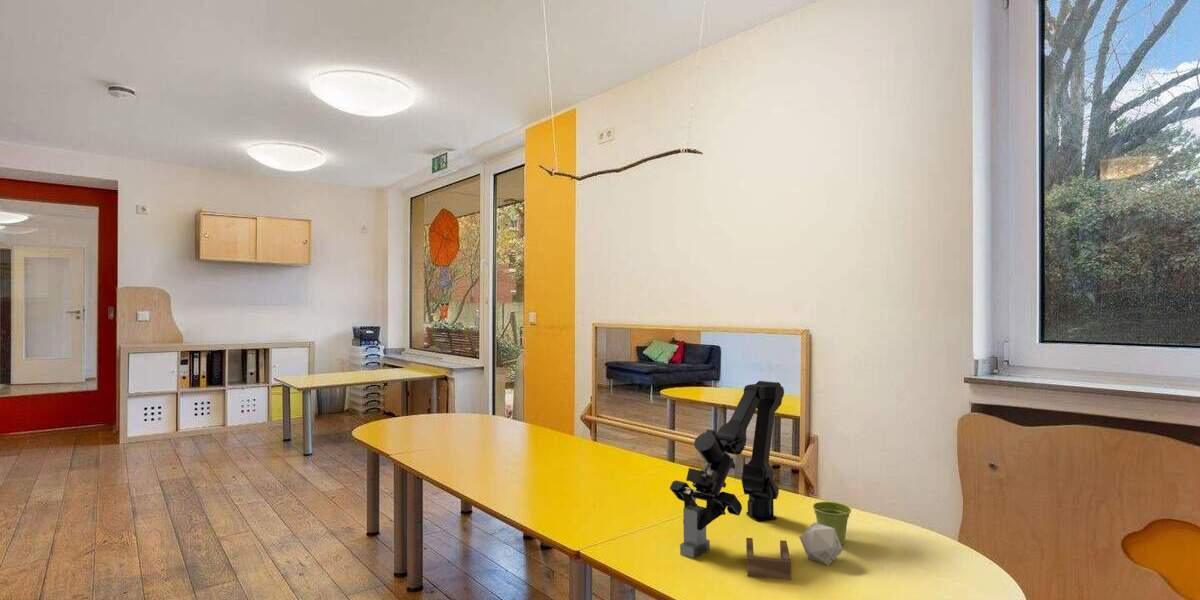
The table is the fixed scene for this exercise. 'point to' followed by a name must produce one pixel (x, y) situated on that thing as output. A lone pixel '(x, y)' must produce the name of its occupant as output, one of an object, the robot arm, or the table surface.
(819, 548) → the die
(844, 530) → the plant pot
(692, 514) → the grey pillar with base
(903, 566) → the table surface
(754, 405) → the robot arm
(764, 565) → the brown u-shaped block
